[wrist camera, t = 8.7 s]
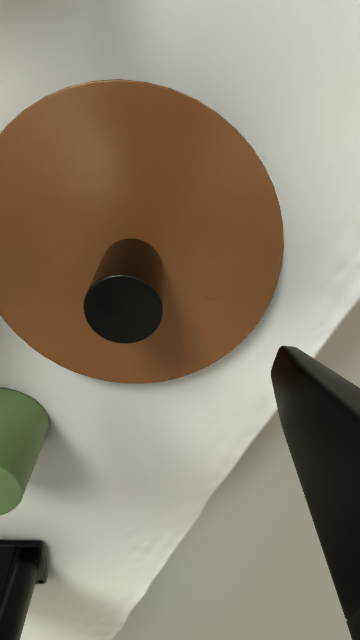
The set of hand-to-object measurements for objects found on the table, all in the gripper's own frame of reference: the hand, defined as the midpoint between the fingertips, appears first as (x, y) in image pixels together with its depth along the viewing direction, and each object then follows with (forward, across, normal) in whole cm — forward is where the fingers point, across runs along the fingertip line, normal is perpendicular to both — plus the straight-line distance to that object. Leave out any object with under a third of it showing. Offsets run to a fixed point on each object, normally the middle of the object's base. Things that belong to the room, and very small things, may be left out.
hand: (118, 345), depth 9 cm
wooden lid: (+7, 0, 0) cm, 7 cm away
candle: (+7, +7, +11) cm, 15 cm away
